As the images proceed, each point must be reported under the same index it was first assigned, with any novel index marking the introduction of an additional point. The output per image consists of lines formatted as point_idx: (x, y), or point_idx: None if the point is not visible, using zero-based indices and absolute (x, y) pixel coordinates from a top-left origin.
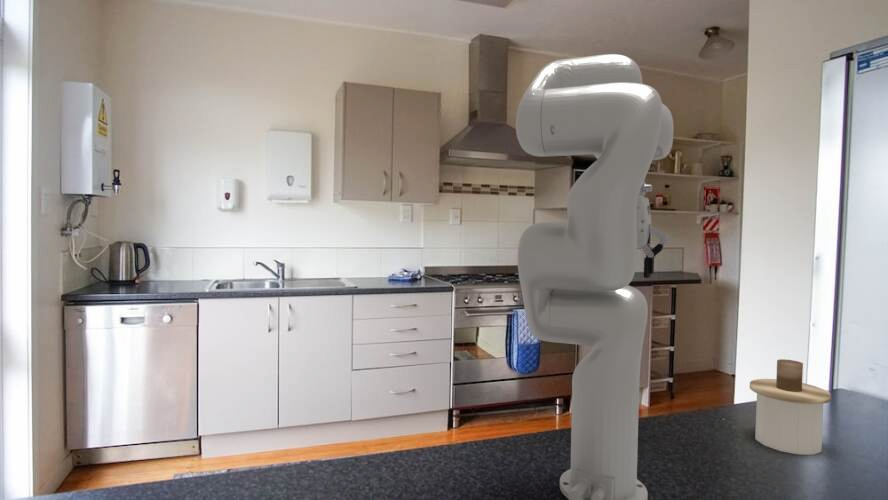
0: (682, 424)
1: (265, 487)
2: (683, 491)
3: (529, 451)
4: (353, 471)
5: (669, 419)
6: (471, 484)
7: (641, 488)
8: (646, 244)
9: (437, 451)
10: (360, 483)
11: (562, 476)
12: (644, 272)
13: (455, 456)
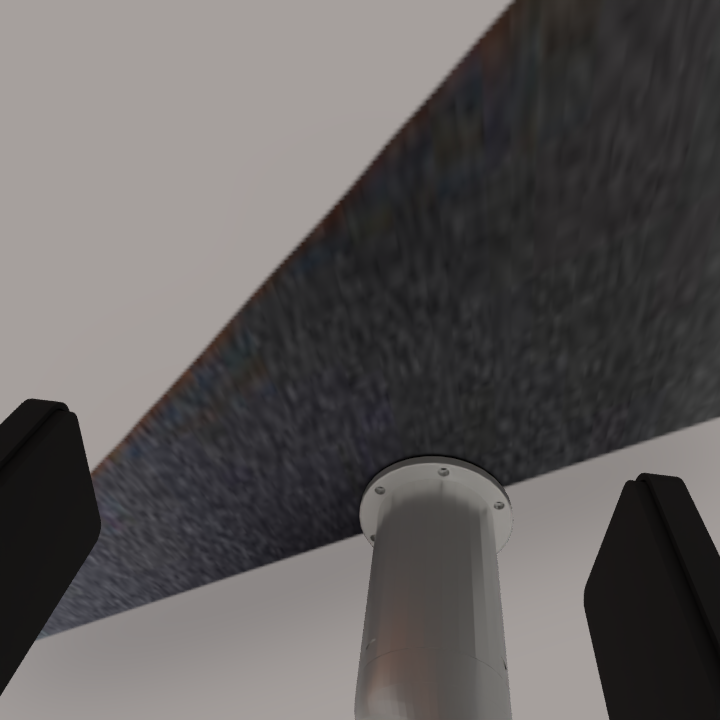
0: (640, 13)
1: None
2: (579, 460)
3: (259, 420)
4: None
5: None
6: (234, 554)
7: (502, 512)
8: None
9: (112, 484)
10: (102, 597)
11: (362, 520)
12: (599, 646)
13: (152, 489)
